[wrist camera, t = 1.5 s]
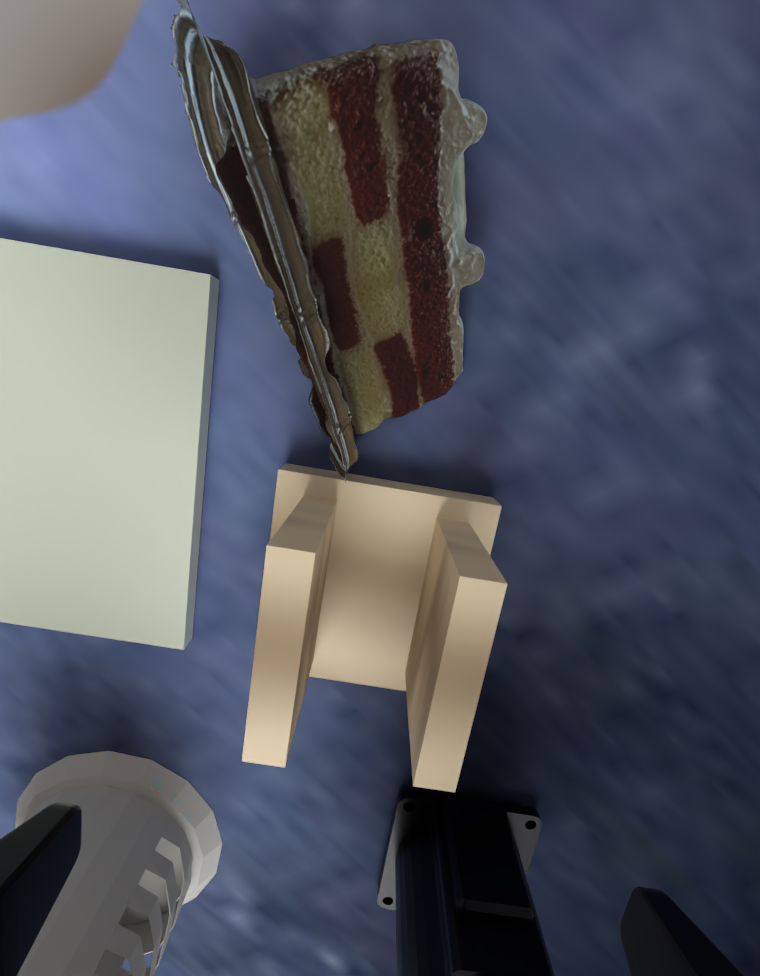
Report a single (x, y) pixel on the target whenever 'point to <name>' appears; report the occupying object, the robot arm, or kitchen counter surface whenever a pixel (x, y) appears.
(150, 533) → the sage board
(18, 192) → the kitchen counter surface
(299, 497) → the wooden slotted holder
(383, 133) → the chocolate cake
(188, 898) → the french press
